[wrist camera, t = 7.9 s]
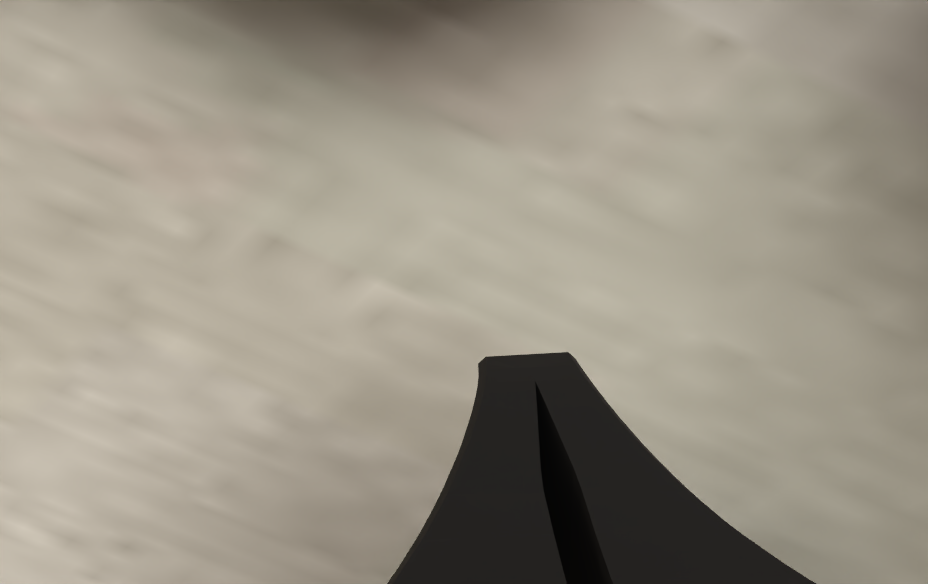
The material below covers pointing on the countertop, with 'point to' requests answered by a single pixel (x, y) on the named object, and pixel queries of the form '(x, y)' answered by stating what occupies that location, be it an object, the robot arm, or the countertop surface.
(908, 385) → the countertop surface
